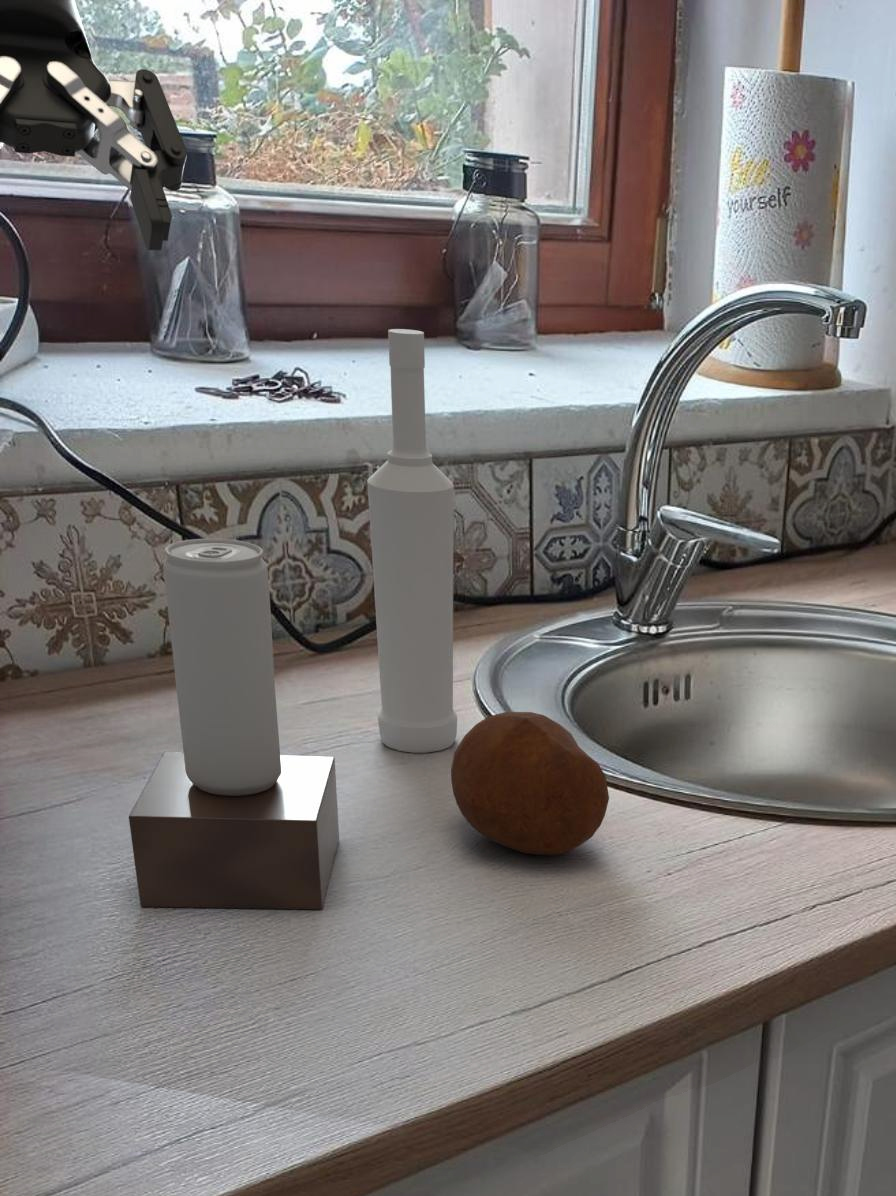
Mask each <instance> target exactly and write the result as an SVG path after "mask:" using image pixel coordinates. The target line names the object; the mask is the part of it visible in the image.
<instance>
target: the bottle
mask: <svg viewBox="0 0 896 1196" xmlns="http://www.w3.org/2000/svg"><path fill="white" fill-rule="evenodd" d="M387 333H388V334H387V335H388V336H387V338H388V358H389V359H388V361H389V362H388V363H389V367H390V393H391V395H390V397H391V427H392V429H391V430H392V447H391V449H390V450H389V451H388V452H387V454H386V455H387V460H386V461H385V462H384V463H383V464H382V465H381V466H380V467H378V469H377V470H376V471H374V472H373V473H372V475H370V477H369V478H367V480H366V481H367V491H368V492H367V493H368V494H367V495H368V496H367V498H368V510H369V512H368V513H369V528H370V541H371V542H370V543H371V558H372V559H371V560H372V574H373V575H372V576H373V591H374V606H375V608H374V609H375V624H376V638H377V655H378V669H379V684H380V685H379V687H380V703H381V708H379V710H378V711H377V723H378V729H379V730H378V731H379V737H380V739H381V742H382V744H384V745H385V746H387V747H388V748H389V749H393V750H396V751H398V752H405V753H406V752H407V753H412V754H413V753H414V754H415V753H416V754H417V753H419V754H420V753H423V754H424V753H433V752H440V751H443V750H445V749H448V748H450V747H451V746H453V744H454V743H455V741H456V739H457V738H456V737H457V731H458V715H457V712H456V711H455V709H454V690H453V689H454V488H455V487H454V484H453V482H452V481H451V479H449V478H448V477H447V476H446V475H445V474H444V473H443V472H442V471H441V469H439V468H438V467H437V466H436V464H434V463H433V454H431V453H430V452H429V451H428V450H427V436H426V435H427V434H426V433H427V432H426V430H427V429H426V397H425V366H426V363H425V362H426V361H425V360H426V359H425V358H426V357H425V332H424V331H421V330H416V329H406V328H391V329H388V331H387Z"/></svg>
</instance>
